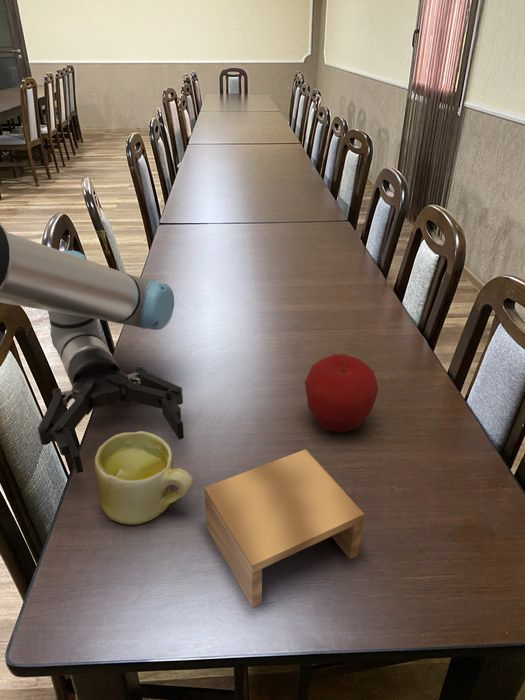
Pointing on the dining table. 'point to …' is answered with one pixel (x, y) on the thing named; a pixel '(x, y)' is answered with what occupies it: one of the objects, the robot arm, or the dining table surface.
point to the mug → (137, 477)
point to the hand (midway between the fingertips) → (131, 447)
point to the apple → (340, 392)
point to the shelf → (278, 517)
